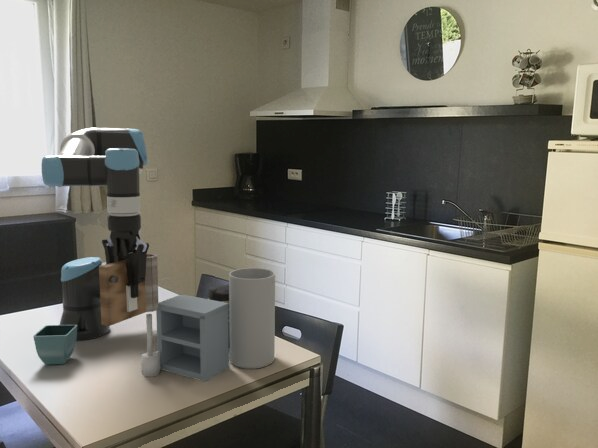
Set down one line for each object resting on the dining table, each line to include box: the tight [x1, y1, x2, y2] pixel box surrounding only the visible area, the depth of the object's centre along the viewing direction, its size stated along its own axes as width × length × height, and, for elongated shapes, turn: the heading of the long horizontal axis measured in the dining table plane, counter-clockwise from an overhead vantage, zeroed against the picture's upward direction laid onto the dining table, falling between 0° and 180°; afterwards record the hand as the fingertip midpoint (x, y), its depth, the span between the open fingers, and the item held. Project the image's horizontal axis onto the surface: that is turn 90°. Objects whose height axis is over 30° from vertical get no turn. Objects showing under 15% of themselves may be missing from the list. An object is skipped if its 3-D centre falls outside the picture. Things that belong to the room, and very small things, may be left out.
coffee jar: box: [207, 284, 230, 349], centre depth 155 cm, size 10×8×19 cm
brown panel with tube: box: [99, 253, 159, 327], centre depth 128 cm, size 17×5×14 cm, turn 152°
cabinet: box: [140, 294, 230, 382], centre depth 137 cm, size 18×15×18 cm
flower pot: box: [33, 324, 77, 365], centre depth 143 cm, size 9×9×9 cm
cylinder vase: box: [228, 267, 276, 370], centre depth 144 cm, size 12×12×25 cm
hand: (127, 308), depth 128 cm, fingers closed on brown panel with tube, 2 cm apart
